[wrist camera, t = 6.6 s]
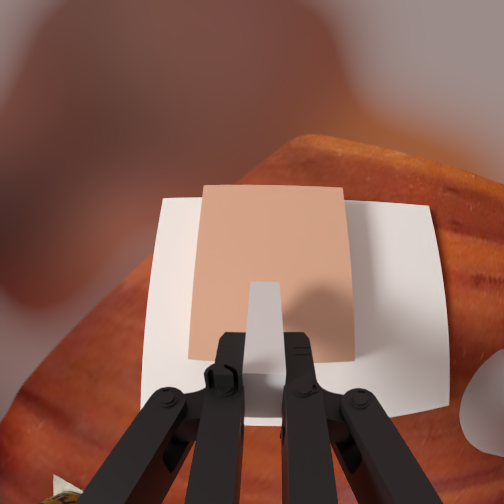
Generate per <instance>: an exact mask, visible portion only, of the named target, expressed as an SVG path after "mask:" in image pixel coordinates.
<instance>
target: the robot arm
mask: <svg viewBox="0 0 504 504" xmlns="http://www.w3.org/2000/svg"><path fill="white" fill-rule="evenodd" d="M204 379H205V385H206V387H205V388H203V389H201V390H199V391H196V392H191V393H185V394H183V392H182V391H181V390H179V389H177V388H175V387H163V388H160V389H158V390H156V391H155V392H154V393H153V394H152V395H151V396H150V398H149V399H148V401H147V402H146V403H145V405H144V406H143V408H142V409H141V411H140V412H139V413H138V415H137V416H136V418H135V419H134V420H133V422H132V423H131V425H130V426H129V428H128V429H127V430H126V432H125V433H124V435H123V436H122V437H121V439H120V440H119V442H118V443H117V445H116V446H115V447H114V449H113V450H112V452H111V453H110V454H109V456H108V457H107V459H106V460H105V461H104V463H103V464H102V466H101V467H100V469H99V470H98V471H97V473H96V474H95V476H94V477H93V478H92V480H91V481H90V483H89V484H88V486H87V487H86V488H85V490H84V491H83V493H82V494H81V495H80V497H79V498H78V500H77V501H76V503H75V504H161V503H162V502H163V500H164V498H165V496H166V494H167V492H168V491H169V489H170V487H171V485H172V483H173V481H174V480H175V478H176V476H177V474H178V472H179V470H180V468H181V466H182V465H183V463H184V461H185V459H186V457H187V455H188V453H189V451H190V449H191V447H192V446H193V444H194V442H195V441H196V443H195V449H194V454H193V459H192V465H191V470H190V476H189V481H188V487H187V492H186V498H185V504H239V499H240V484H241V470H242V455H243V441H244V417H251V418H282V426H281V434H280V438H281V446H282V504H338V500H337V492H336V484H335V476H334V468H333V461H332V453H331V446H332V448H333V450H334V452H335V454H336V456H337V459H338V461H339V463H340V465H341V467H342V469H343V472H344V474H345V476H346V478H347V480H348V482H349V484H350V487H351V489H352V491H353V493H354V495H355V497H356V499H357V501H358V504H443V503H442V501H441V499H440V498H439V496H438V494H437V493H436V491H435V490H434V488H433V486H432V485H431V483H430V481H429V480H428V478H427V477H426V475H425V473H424V472H423V470H422V468H421V467H420V465H419V464H418V462H417V460H416V459H415V457H414V456H413V454H412V453H411V451H410V449H409V448H408V446H407V445H406V443H405V441H404V440H403V438H402V437H401V435H400V434H399V432H398V430H397V429H396V427H395V426H394V424H393V423H392V421H391V420H390V418H389V416H388V415H387V413H386V412H385V410H384V409H383V407H382V406H381V404H380V403H379V401H378V400H377V398H376V396H375V395H374V394H373V393H372V392H370V391H368V390H366V389H362V388H354V389H351V390H349V391H347V392H346V393H345V394H344V395H342V394H337V393H333V392H329V391H327V390H325V389H323V388H322V387H321V386H320V385H319V383H318V382H317V379H316V373H315V367H314V361H313V356H312V350H311V344H310V339H309V338H308V336H307V335H306V334H305V333H304V332H283V321H282V308H281V296H280V283H279V282H261V281H250V293H249V304H248V315H247V326H246V332H225V333H224V334H223V335H222V336H221V337H220V339H219V343H218V349H217V353H216V358H215V363H214V364H212V365H210V366H209V367H208V368H206V370H205V372H204ZM330 443H331V446H330Z"/></svg>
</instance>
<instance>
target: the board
mask: <svg viewBox="0 0 504 504" xmlns="http://www.w3.org/2000/svg"><path fill="white" fill-rule="evenodd" d="M344 203H345V211H346V220H347V229H348V238H349V249H350V260H351V273H352V288H353V306H354V334H355V361H350V362H333V363H314V367H315V373H316V379H317V382H318V383H319V385H320V386H321V387H322V388H323V389H325V390H327V391H329V392H333V393H337V394H342V395H344V394H345V393H346V392H347V391H349V390H351V389H354V388H362V389H366V390H368V391H370V392H372V393H373V394H374V395H375V396H376V398H377V400H378V401H379V403H380V404H381V406H382V407H383V409H384V410H385V412H386V413H387V415H388V416H389V417H395V416H401V415H407V414H412V413H417V412H422V411H427V410H432V409H436V408H440V407H444V406H449V393H450V357H449V334H448V320H447V309H446V299H445V291H444V283H443V276H442V269H441V263H440V257H439V252H438V246H437V241H436V236H435V231H434V226H433V222H432V218H431V213H430V209H429V206H424V205H412V204H399V203H386V202H370V201H353V200H344ZM201 205H202V198H164V199H163V202H162V208H161V214H160V219H159V225H158V231H157V237H156V244H155V250H154V256H153V263H152V271H151V278H150V286H149V295H148V304H147V313H146V324H145V335H144V348H143V363H142V383H141V409H142V408H143V406H144V405H145V403H146V402H147V401H148V399H149V398H150V396H151V395H152V394H153V393H154V392H155V391H156V390H158V389H160V388H163V387H175V388H177V389H179V390H181V391H182V392H183V394H185V393H191V392H196V391H199V390H201V389H203V388H205V387H206V385H205V379H204V372H205V370H206V368H208V367H209V366H210V365H212V364H214V363H215V361H202V360H191V359H188V349H189V333H190V318H191V305H192V292H193V280H194V269H195V259H196V249H197V239H198V230H199V221H200V213H201ZM244 425H252V426H282V418H251V417H244Z"/></svg>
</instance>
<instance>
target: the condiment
mask: <svg viewBox="0 0 504 504" xmlns="http://www.w3.org/2000/svg"><path fill="white" fill-rule="evenodd" d="M53 481H54V482H53V484H54V486H53V488H54V496H52V497H50V498H48V499H45V500H43V501H41V502H39V503H36V504H75V503H76V501H77V500H78V498H79V497H80V495H81V494H82V493H83V491H82V490H80V489H79V488H77V487H75V486H73V485H72V484H70V483H68V482H66V481H65V480H63V479H62V478H60V477H58V476H56V475H54V480H53Z"/></svg>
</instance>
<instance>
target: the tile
mask: <svg viewBox="0 0 504 504" xmlns="http://www.w3.org/2000/svg"><path fill="white" fill-rule="evenodd" d="M250 281H261V282H279V283H280V296H281V308H282V321H283V332H304V333H305V334H306V335H307V336H308V338H309V339H310V344H311V350H312V356H313V361H314V363H333V362H350V361H355V334H354V306H353V288H352V273H351V260H350V249H349V238H348V229H347V220H346V211H345V203H344V196H343V188H336V187H314V186H283V185H204V189H203V196H202V205H201V213H200V221H199V230H198V239H197V249H196V259H195V269H194V280H193V292H192V305H191V318H190V333H189V349H188V359H191V360H202V361H215V358H216V353H217V349H218V343H219V339H220V337H221V336H222V335H223V334H224V333H225V332H246V326H247V315H248V304H249V293H250Z"/></svg>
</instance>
